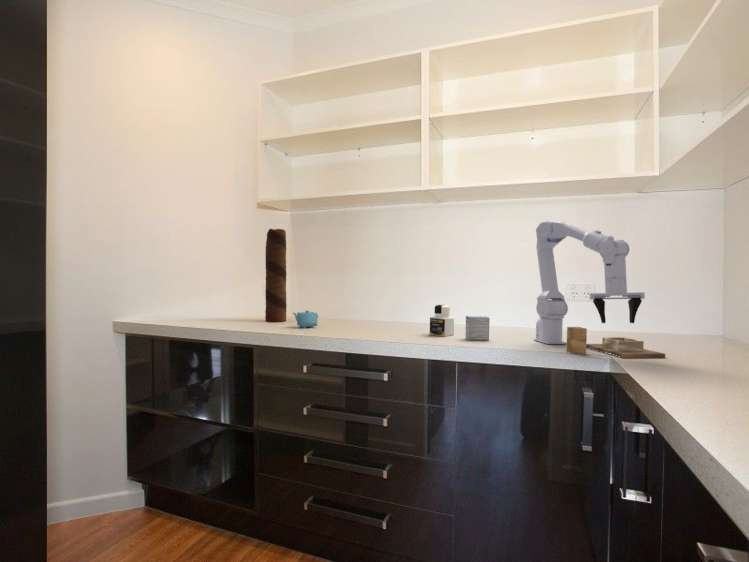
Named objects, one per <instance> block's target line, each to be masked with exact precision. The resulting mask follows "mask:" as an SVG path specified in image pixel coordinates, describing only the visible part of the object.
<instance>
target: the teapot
mask: <svg viewBox="0 0 749 562" xmlns="http://www.w3.org/2000/svg"><path fill="white" fill-rule="evenodd" d="M292 315H294V318H295V321H296V325H297V326H299V327H300V328H302V329H307V327H308V328H311V329H314V328H315V327H317V326H318V318H319V314H318V313H317V312H313V311H310V310H305V311H304V312H302V311H301V312H297V313H296V312H292Z"/></svg>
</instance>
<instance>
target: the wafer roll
mask: <svg viewBox="0 0 749 562" xmlns="http://www.w3.org/2000/svg"><path fill="white" fill-rule="evenodd" d="M264 318H265V321H266V322H268V323H269V322H270V323H283V322H284V323H285V322H287V233H286V230H285V229H282V228H276V229H275V228H274V229H273V228H269V229H268V231H267V233H266V242H265V317H264Z"/></svg>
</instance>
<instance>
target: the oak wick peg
mask: <svg viewBox="0 0 749 562" xmlns="http://www.w3.org/2000/svg"><path fill="white" fill-rule="evenodd" d="M587 332H588V329H587V327H586V328H585V327H580V326H567V327H566V342H567V344H566V352H567V353H569V352H570V353H569V354H572V355H587V348H586V344H587V339H588V338H587V335H588V334H587Z"/></svg>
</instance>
